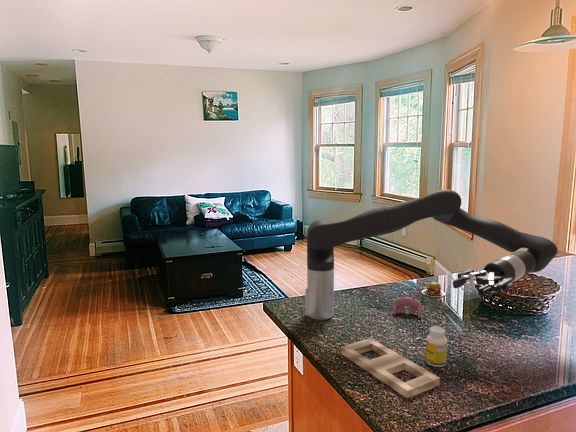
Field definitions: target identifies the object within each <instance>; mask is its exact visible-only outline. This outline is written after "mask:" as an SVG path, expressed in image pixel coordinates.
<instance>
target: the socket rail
mask: <svg viewBox="0 0 576 432" xmlns="http://www.w3.org/2000/svg"><path fill="white" fill-rule="evenodd" d="M369 351H373V352H374V353H376V354H378V355H379V356H378V357H375V358H372V359H369V358H367V357H366V356H363V355H362V354H363V353H367V352H369ZM340 355H342V356H343V357H346V358H347V359H348V360H350V361H351V362H353V363H354V364H356V365H357V366H358V367H360V368H362V369H363V370H364V371H366V372H367V373H369V374H371V375H372V376H373V377H374V378H376V379H377V380H379V381H381V382H382V383H384V384H385V385H387V386H388V387H389V386H390V387H389V388H391V389H393V390H394V391H395V392H397V393H399V394H400V395H401V396H403V398H406V399H409V398H412V397H415V396H417V395H419V394H422V393H424V392H427V391H430V390H431V389H434V388H436V387H439V386H440V382H441V378H440V377H439V376H437V375H435V374H434V373H432V372H431V371H429V370H427V369H425V368H423V367H422V366H420V365H418V364H416V363H414V362H413V361H411V360H409V359H408V358H406V357H404V356H402V355H401V354H399V353H397V352H395V351H394V350H392V349H391V348H388V347H387V346H385V345H383V344H382V343H380V342H378V341H376V340H374V339H373V338H371V337H369V338H366V339H363V340H359V341H355V342H353V343H349V344H347V345H343V346H340ZM402 371H406V372H408V373H409V374H410V375H412V376H414V377H415V378H413V379H410V380H407V381H405V382H404V381H403V380H402V379H400V378H398V377H397V376H395V375H394V374H396V373H399V372H402Z"/></svg>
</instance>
